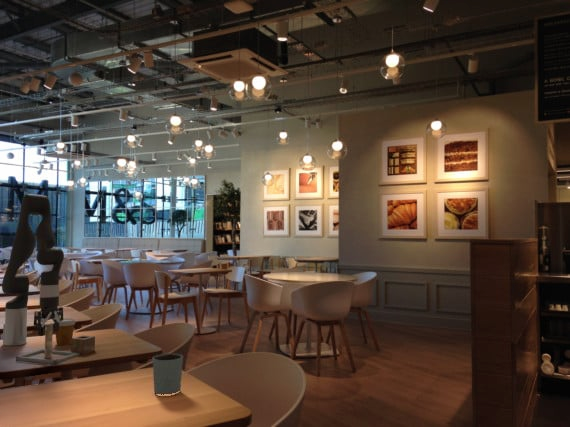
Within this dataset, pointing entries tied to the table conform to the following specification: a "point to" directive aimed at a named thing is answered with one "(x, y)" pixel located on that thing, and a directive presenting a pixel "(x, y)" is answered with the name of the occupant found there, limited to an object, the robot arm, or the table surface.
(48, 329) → the dowel
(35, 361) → the tray
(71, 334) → the disposable coffee cup
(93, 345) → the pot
